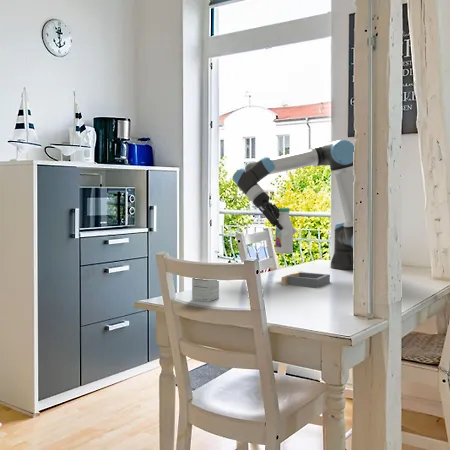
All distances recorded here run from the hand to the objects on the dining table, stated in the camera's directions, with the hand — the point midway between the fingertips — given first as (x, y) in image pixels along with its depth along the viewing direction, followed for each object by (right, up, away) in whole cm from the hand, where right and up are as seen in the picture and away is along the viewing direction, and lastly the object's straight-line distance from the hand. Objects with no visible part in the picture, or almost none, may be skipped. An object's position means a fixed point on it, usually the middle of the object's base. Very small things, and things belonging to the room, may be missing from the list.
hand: (291, 233), depth 246 cm
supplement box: (-36, -23, -44) cm, 62 cm away
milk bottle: (-3, -9, +2) cm, 10 cm away
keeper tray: (+6, -21, -8) cm, 23 cm away
